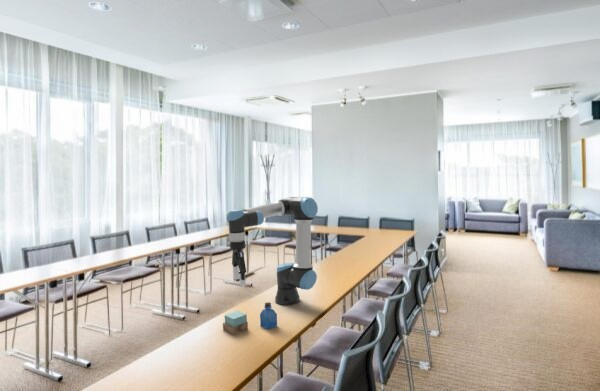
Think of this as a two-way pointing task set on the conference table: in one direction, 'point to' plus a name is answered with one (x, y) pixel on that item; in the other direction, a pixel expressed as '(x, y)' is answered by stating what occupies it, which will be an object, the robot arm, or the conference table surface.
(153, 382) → the conference table surface
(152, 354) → the conference table surface
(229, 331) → the walnut slab
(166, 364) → the conference table surface
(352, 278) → the conference table surface
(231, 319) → the teal slab
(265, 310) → the perfume bottle
